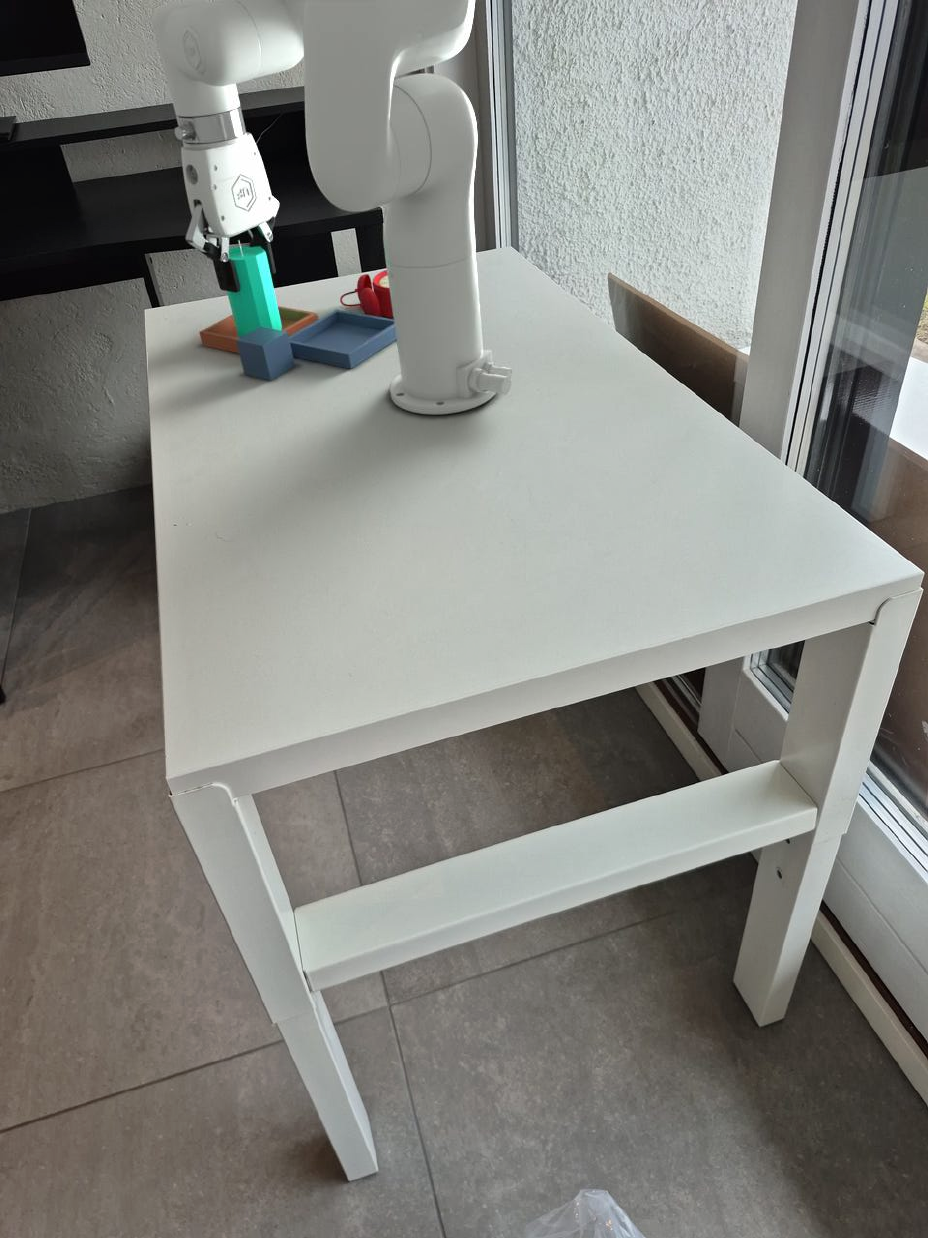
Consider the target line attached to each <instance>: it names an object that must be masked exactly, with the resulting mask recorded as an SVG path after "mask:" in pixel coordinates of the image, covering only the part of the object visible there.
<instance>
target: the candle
mask: <svg viewBox="0 0 928 1238" xmlns="http://www.w3.org/2000/svg"><path fill="white" fill-rule="evenodd" d="M237 242H238V245H237V246H234V247H232V248H229V259H232V260H233V261H234V264H235V268H236V272H237V276H238V280H239V284H240V291H239V292H237V293H235V292H229V291H226V293H227V297H228V301H229V305H230V309H231V313H232V315H233V317H234V321H235V325H236V329H237V333H238V337H240V338H241V337H243V336H245V335H247V334H248V333H250V332H252V331H254V330H256V329H258V328H259V327H265V328H270V329H275V330H282V324H281V320H280V315H279V311H278V306H279V305H278V302H277V297H276V293H275V292H276V291H275V289H274V284H273V279H272V275H271V274H270V270H269V265H268V261H267V256H266V252H265V250H264V249H263V248H261V247H260V246H257V247H250V246H242V245H241V242H240V239H238V240H237Z"/></svg>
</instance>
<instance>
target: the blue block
mask: <svg viewBox="0 0 928 1238" xmlns="http://www.w3.org/2000/svg"><path fill="white" fill-rule="evenodd" d="M236 342H237V346H238V350H239V353H238V354H239V357H240V362H241V365H242V369H243V373H244V375H245V376H249V377H254V378H256V379H257V378H258V379H261V380H266V381H270V382H271V381H273V380H274V379H276V378H278V377H279V376H281V375H283V374H285V373H286V372H288V371H289V370H291V369H293V368H295V366H296V364H295V360H294V357H293V355H292V350H291V346H290V341H289V337H288V332H286V331H281V330H275V329H270V328H265V327H259V328H258V329H256V330H254V331H252V332H250V333H248V334H247V335H245V336H243V337H241V338H239V339H237V340H236Z"/></svg>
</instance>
